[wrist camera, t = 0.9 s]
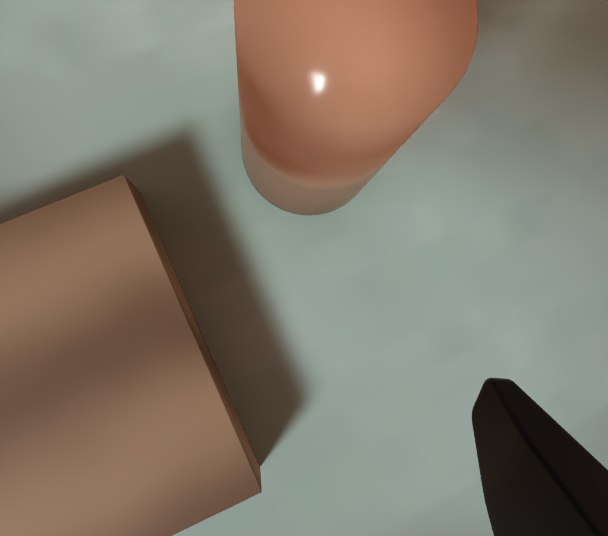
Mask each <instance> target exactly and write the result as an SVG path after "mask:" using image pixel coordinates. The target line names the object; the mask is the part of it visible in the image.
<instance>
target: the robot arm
mask: <svg viewBox="0 0 608 536" xmlns="http://www.w3.org/2000/svg"><path fill="white" fill-rule="evenodd" d="M472 424H473V430H474V437H475V443H476V449H477V456H478V462H479V468H480V475H481V481H482V487H483V493H484V498H485V503H486V507H487V511H488V515H489V519H490V522H491V526H492V530H493V533H494V536H608V470H607V469H606V468H605V467H604V466H603V465H602V464H601V463H600V462H599V461H598V460H596V459H595V458H594V457H593V456H592V455H591V454H590V453H589V452H588V451H587V450H586V449H585V448H584V447H583V446H582V445H580V444H579V443H578V442H577V441H576V440H575V439H574V438H573V437H572V436H571V435H570V434H569V433H568V432H567V431H566V430H564V429H563V428H562V427H561V426H560V425H559V424H558V423H557V422H556V421H555V420H554V419H553V418H552V417H551V416H550V415H548V414H547V413H546V412H545V411H544V410H543V409H542V408H541V407H540V406H539V405H538V404H537V403H536V402H535V401H534V400H532V399H531V398H530V397H529V396H528V395H527V394H526V393H525V392H524V391H523V390H522V389H521V388H520V387H519V386H518V385H516V384H515V383H514V382H513V381H511V380H509V379H502V378H488V379H487V380H486V381H485V382H484V384H483V386H482V388H481V391H480V393H479V395H478V398H477V400H476V402H475V404H474V407H473V410H472Z"/></svg>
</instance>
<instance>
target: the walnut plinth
mask: <svg viewBox="0 0 608 536" xmlns="http://www.w3.org/2000/svg"><path fill="white" fill-rule="evenodd" d="M261 492H262V491H261V475H260V466H259V464H258V462H257V459H256V457H255V455H254V452H253V450H252V448H251V445H250V443H249V441H248V439H247V436H246V434H245V432H244V429H243V427H242V425H241V422H240V420H239V418H238V416H237V413H236V411H235V409H234V406H233V404H232V402H231V400H230V397H229V395H228V393H227V390H226V388H225V386H224V383H223V381H222V379H221V377H220V374H219V372H218V370H217V367H216V365H215V363H214V360H213V358H212V356H211V354H210V351H209V349H208V347H207V344H206V342H205V340H204V338H203V335H202V333H201V331H200V328H199V326H198V324H197V321H196V319H195V317H194V315H193V312H192V310H191V308H190V305H189V303H188V301H187V299H186V296H185V294H184V292H183V289H182V287H181V285H180V282H179V280H178V278H177V276H176V273H175V271H174V269H173V266H172V264H171V262H170V259H169V257H168V255H167V253H166V250H165V248H164V246H163V243H162V241H161V239H160V237H159V234H158V232H157V230H156V227H155V225H154V223H153V220H152V218H151V216H150V214H149V211H148V209H147V207H146V204H145V202H144V200H143V197H142V195H141V193H140V192H139V191H138V189H137V188H136V187H135V186H134V185H133V184H132V183H131V182H130V181H129V180H128V179H127V178H126V177H125V176H124V175H121V176H119V177H116V178H114V179H111V180H109V181H106V182H104V183H101V184H99V185H96V186H94V187H91V188H89V189H86V190H84V191H81V192H79V193H76V194H74V195H71V196H69V197H66V198H64V199H61V200H59V201H56V202H54V203H51V204H49V205H46V206H44V207H41V208H39V209H36V210H34V211H31V212H29V213H26V214H24V215H21V216H19V217H16V218H14V219H11V220H9V221H6V222H4V223H1V224H0V536H172V535H174V534H176V533H178V532H180V531H182V530H184V529H186V528H188V527H191V526H193V525H195V524H197V523H199V522H201V521H203V520H205V519H207V518H209V517H211V516H213V515H215V514H217V513H219V512H221V511H223V510H226V509H228V508H230V507H232V506H234V505H236V504H238V503H240V502H242V501H244V500H246V499H248V498H250V497H252V496H254V495H256V494H258V493H261Z"/></svg>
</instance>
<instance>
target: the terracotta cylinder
mask: <svg viewBox="0 0 608 536" xmlns="http://www.w3.org/2000/svg"><path fill="white" fill-rule="evenodd" d="M234 19H235V37H236V55H237V73H238V91H239V109H240V127H241V145H242V159H243V163H244V167H245V170H246V173H247V175H248V177H249V179H250V181H251V183H252V184H253V186H254V187H255V189H256V190H257V191H258V192H259V193H260V194H261V196H262V197H264V198H265V199H266V200H267V201H268V202H270V203H271V204H273V205H274V206H276V207H278V208H280V209H282V210H284V211H287V212H290V213H294V214H299V215H319V214H324V213H328V212H331V211H334V210H336V209H338V208H340V207H342V206H343V205H345V204H346V203H348V202H349V201H350V200H351V199H352V198H353V197H355V196H356V195H357V193H358V192H359V191H360V190H361V189H362V188H363V187H364V186H365V185H366V184H367V183H368V182H369V180H370V179H371V178H372V177H373V176H374V175H375V174H376V173H377V172H378V171H379V170H380V169H381V168H382V166H383V165H384V164H385V163H386V162H387V161H388V160H389V159H390V158H391V157H392V156H393V155H394V153H395V152H396V151H397V150H398V149H399V148H400V147H401V146H402V145H403V144H404V143H405V142H406V140H407V139H408V138H409V137H410V136H411V135H412V134H413V133H414V132H415V131H416V130H417V129H418V127H419V126H420V125H421V124H422V123H423V122H424V121H425V120H426V119H427V118H428V117H429V116H430V115H431V113H432V112H433V111H434V110H435V109H436V108H437V107H438V106H439V105H440V104H441V103H442V102H443V100H444V99H445V98H446V97H447V96H448V95H449V94H450V93H451V91H452V90H453V89H454V88H455V87H456V85H457V84H458V82H459V81H460V79H461V78H462V76H463V74H464V73H465V71H466V69H467V66H468V64H469V62H470V60H471V57H472V54H473V50H474V47H475V44H476V37H477V30H478V8H477V0H234Z"/></svg>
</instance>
